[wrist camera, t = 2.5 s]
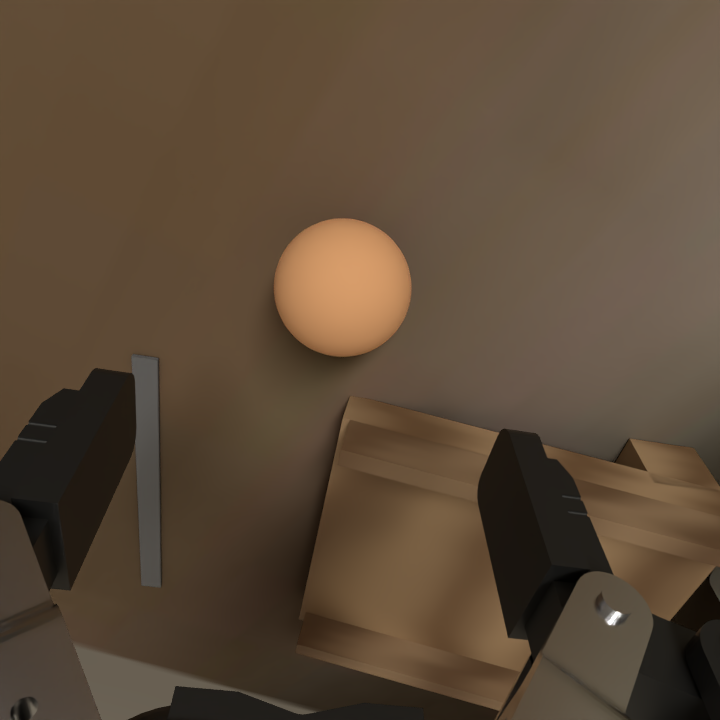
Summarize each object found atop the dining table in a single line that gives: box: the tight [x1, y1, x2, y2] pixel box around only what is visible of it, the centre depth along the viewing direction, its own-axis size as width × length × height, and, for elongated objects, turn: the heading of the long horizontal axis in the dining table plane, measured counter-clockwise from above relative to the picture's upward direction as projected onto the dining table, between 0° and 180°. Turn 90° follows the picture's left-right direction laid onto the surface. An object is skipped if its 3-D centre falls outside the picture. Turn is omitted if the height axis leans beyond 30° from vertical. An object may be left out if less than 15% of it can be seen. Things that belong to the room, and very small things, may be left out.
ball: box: [274, 218, 411, 357], centre depth 19 cm, size 4×4×4 cm
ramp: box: [295, 396, 720, 711], centre depth 26 cm, size 16×14×6 cm
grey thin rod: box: [132, 354, 161, 588], centre depth 27 cm, size 1×15×1 cm, turn 170°
